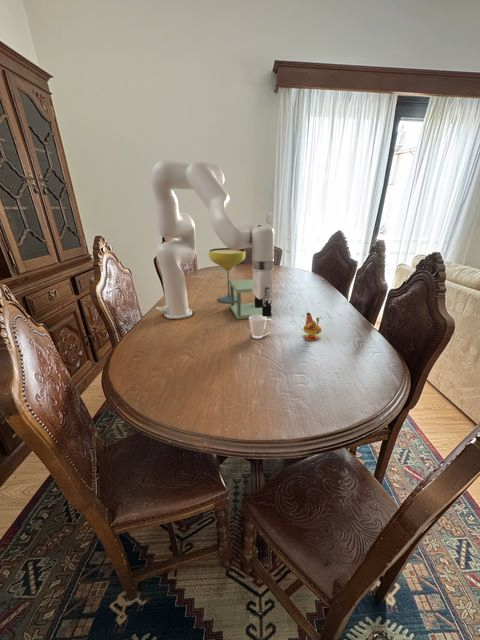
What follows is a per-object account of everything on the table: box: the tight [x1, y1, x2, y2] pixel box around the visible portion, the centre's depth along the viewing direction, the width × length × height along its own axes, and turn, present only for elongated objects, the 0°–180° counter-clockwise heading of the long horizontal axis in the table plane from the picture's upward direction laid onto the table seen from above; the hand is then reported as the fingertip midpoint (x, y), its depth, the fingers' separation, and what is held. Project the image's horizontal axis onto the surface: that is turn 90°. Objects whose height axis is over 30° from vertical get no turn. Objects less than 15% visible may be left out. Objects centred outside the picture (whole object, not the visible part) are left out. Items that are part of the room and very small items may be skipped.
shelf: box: [229, 278, 262, 320], centre depth 134 cm, size 16×16×14 cm
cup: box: [248, 314, 275, 340], centre depth 111 cm, size 7×10×8 cm
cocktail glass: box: [208, 247, 246, 304], centre depth 147 cm, size 18×18×25 cm
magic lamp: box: [303, 312, 323, 342], centre depth 111 cm, size 7×18×11 cm, turn 3°
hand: (262, 311), depth 108 cm, fingers open, 9 cm apart
